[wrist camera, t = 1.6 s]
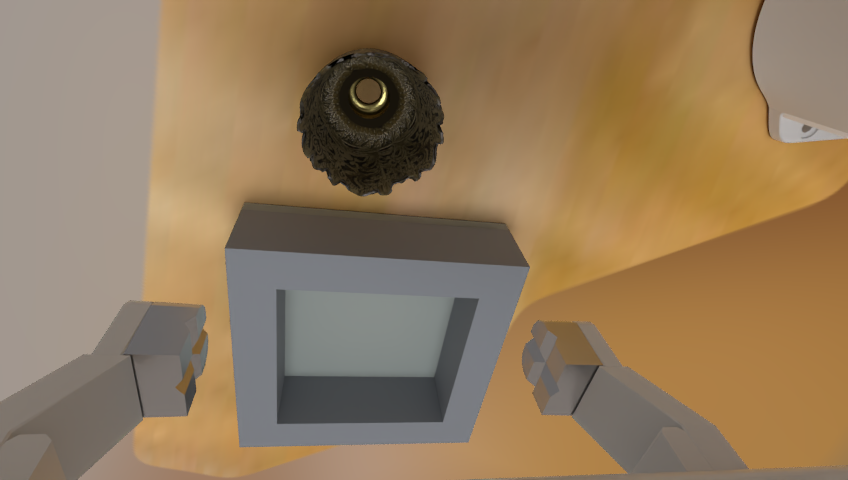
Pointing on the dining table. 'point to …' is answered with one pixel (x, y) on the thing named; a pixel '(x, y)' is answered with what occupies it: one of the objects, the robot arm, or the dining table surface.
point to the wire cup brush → (370, 122)
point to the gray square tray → (365, 324)
